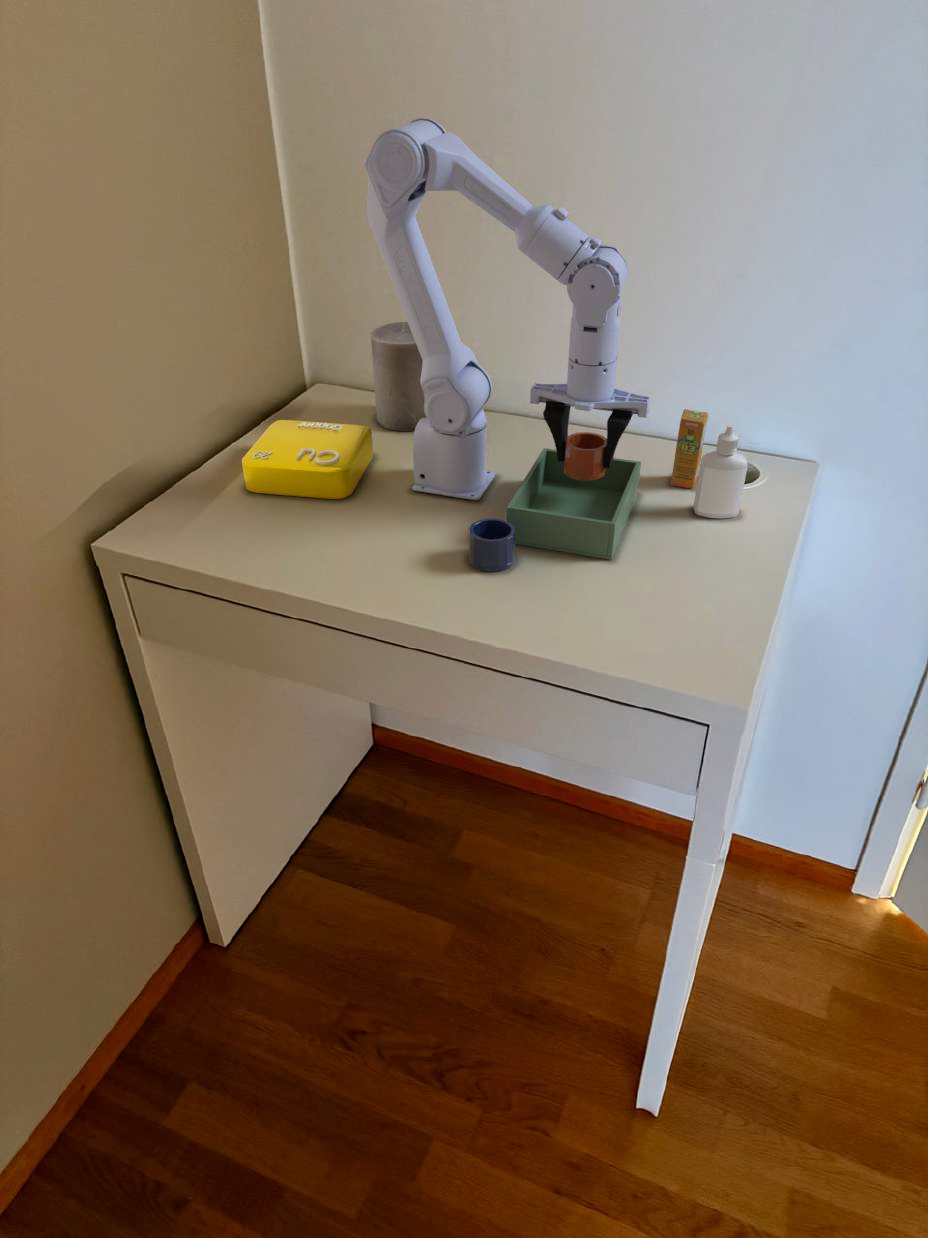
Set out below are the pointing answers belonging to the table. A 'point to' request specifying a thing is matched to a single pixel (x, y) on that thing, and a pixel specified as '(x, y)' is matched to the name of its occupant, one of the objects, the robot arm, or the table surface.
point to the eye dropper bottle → (721, 479)
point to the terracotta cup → (585, 456)
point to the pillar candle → (397, 377)
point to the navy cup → (492, 544)
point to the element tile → (308, 459)
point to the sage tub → (573, 507)
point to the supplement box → (689, 448)
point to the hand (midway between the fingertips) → (584, 461)
